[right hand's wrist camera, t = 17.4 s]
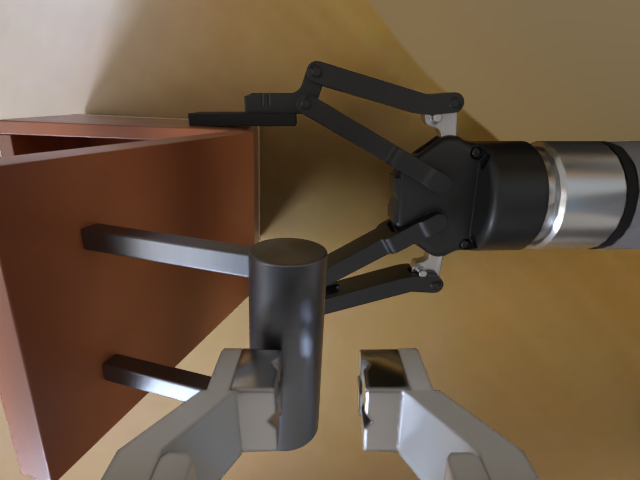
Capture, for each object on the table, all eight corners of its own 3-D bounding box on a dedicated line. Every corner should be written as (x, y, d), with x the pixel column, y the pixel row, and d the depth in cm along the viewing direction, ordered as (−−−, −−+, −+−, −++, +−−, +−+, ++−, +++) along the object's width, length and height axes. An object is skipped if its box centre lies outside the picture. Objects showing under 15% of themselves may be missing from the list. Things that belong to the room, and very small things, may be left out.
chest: (97, 232, 34) (27, 279, 25) (80, 113, 31) (-7, 119, 22) (260, 237, 35) (247, 283, 26) (259, 121, 32) (245, 130, 23)
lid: (20, 474, 13) (283, 570, 10) (-63, 163, 9) (290, 205, 7) (237, 286, 26) (373, 310, 24) (233, 130, 23) (390, 141, 20)
